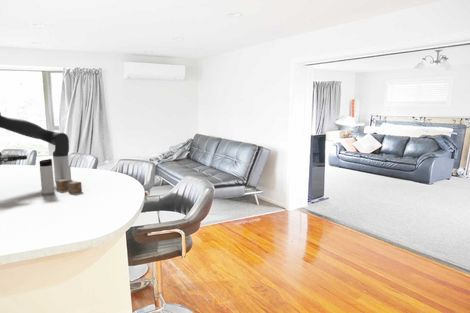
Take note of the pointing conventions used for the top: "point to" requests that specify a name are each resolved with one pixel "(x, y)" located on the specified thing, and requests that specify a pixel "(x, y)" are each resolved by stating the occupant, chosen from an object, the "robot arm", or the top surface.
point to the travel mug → (47, 177)
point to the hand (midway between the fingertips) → (26, 157)
